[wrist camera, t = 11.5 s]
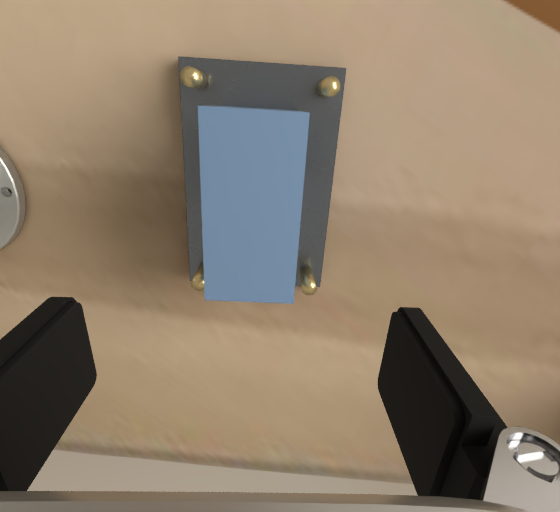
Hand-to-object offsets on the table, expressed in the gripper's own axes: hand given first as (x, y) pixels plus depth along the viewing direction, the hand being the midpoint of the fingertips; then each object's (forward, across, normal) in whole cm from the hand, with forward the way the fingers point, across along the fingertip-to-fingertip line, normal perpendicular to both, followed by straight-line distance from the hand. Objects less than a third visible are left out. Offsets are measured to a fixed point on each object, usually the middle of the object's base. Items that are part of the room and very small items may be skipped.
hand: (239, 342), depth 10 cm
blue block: (+19, 0, 0) cm, 19 cm away
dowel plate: (+21, 0, 0) cm, 21 cm away
